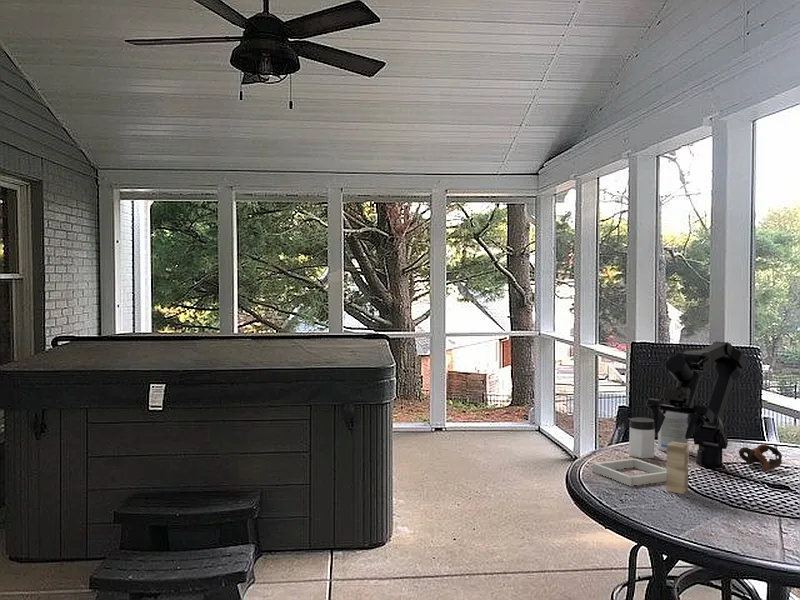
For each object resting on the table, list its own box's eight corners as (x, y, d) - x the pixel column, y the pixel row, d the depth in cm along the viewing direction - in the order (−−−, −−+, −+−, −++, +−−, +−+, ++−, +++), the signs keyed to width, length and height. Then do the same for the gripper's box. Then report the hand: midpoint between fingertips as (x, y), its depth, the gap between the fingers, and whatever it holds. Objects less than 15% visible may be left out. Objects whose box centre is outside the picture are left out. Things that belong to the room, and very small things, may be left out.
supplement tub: (693, 452, 235) (694, 409, 235) (668, 454, 233) (669, 410, 232) (675, 446, 244) (676, 404, 244) (651, 447, 242) (652, 405, 242)
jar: (660, 456, 230) (661, 420, 230) (647, 460, 225) (647, 423, 225) (636, 450, 237) (637, 416, 237) (622, 454, 232) (623, 419, 232)
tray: (634, 466, 217) (634, 458, 217) (674, 480, 202) (674, 471, 202) (592, 471, 211) (592, 463, 211) (630, 486, 196) (630, 477, 196)
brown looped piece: (773, 466, 221) (783, 447, 217) (775, 486, 213) (786, 467, 209) (734, 453, 224) (743, 434, 220) (734, 472, 217) (743, 453, 212)
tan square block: (671, 487, 196) (672, 441, 195) (687, 490, 193) (688, 443, 192) (666, 490, 192) (667, 444, 192) (683, 494, 189) (683, 446, 189)
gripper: (645, 372, 210) (629, 418, 204) (707, 379, 196) (691, 429, 190) (660, 390, 216) (645, 435, 211) (721, 397, 202) (706, 446, 196)
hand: (670, 436), depth 202 cm, fingers open, 9 cm apart
